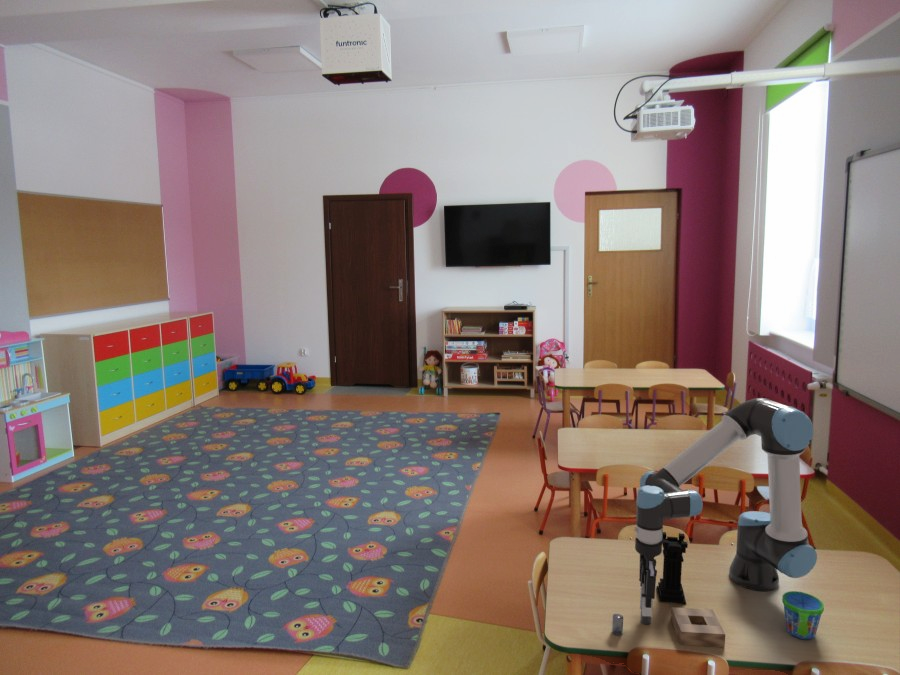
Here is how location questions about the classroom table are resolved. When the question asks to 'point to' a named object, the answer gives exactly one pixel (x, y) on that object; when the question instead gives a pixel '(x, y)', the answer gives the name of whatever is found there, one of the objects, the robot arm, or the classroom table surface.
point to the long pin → (643, 618)
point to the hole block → (697, 627)
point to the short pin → (617, 624)
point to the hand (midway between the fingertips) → (645, 611)
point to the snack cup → (802, 614)
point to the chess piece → (672, 570)
